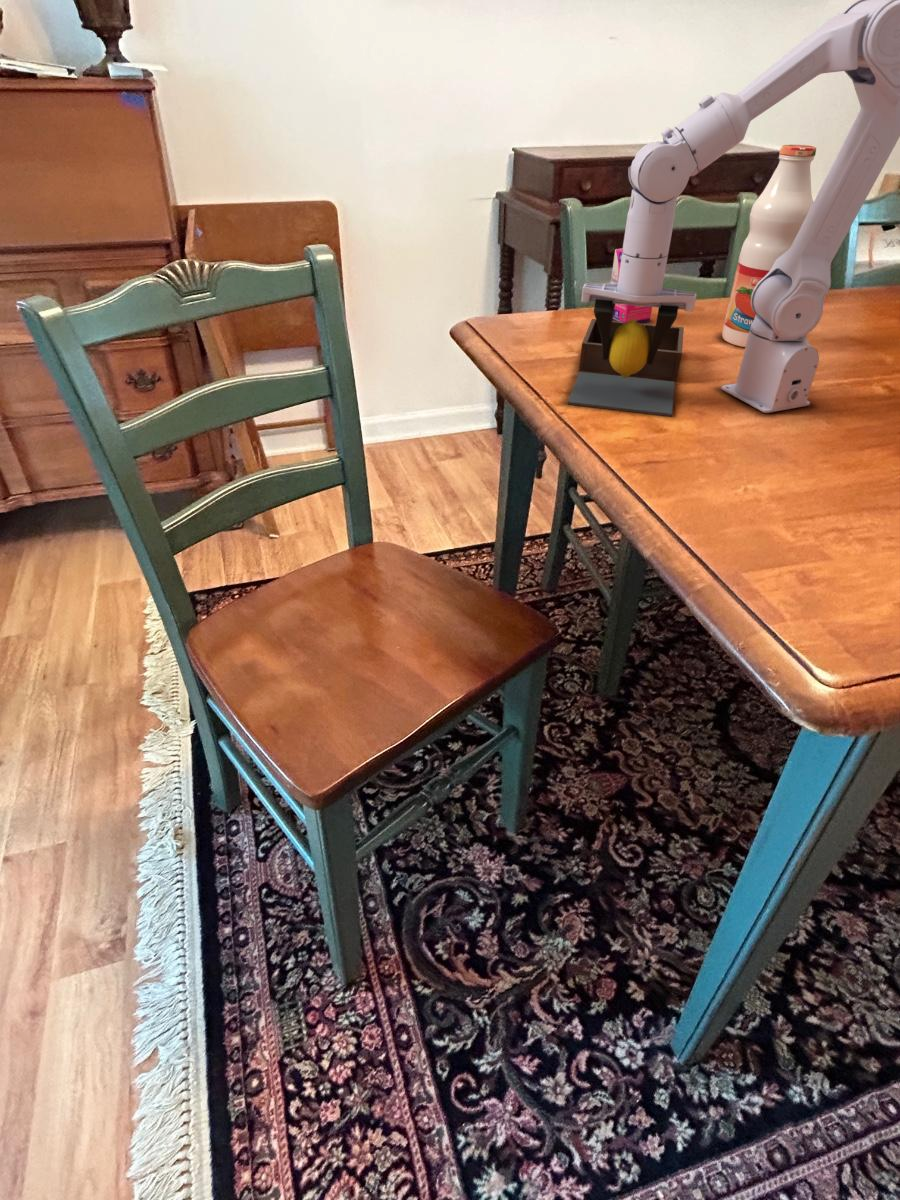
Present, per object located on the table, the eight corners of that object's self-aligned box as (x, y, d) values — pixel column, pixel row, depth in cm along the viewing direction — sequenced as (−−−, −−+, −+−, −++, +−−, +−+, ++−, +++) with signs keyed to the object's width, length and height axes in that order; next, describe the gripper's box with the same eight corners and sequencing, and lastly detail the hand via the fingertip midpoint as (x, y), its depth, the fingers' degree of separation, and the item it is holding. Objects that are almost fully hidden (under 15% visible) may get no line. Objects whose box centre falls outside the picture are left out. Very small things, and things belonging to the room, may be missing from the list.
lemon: (642, 371, 106) (652, 314, 101) (647, 386, 102) (657, 326, 97) (603, 370, 106) (611, 312, 101) (606, 384, 102) (614, 325, 97)
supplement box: (604, 316, 134) (614, 248, 127) (631, 312, 136) (642, 245, 129) (623, 325, 130) (634, 255, 123) (651, 321, 132) (663, 252, 125)
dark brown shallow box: (678, 354, 119) (684, 327, 116) (676, 382, 109) (682, 353, 107) (588, 345, 122) (591, 318, 119) (578, 371, 112) (581, 343, 110)
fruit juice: (772, 332, 128) (824, 143, 111) (785, 351, 120) (842, 151, 103) (716, 330, 129) (759, 141, 112) (725, 348, 121) (772, 149, 104)
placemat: (674, 384, 109) (675, 381, 108) (671, 416, 99) (672, 413, 99) (579, 374, 111) (579, 371, 111) (567, 404, 102) (567, 401, 102)
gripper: (704, 250, 96) (682, 355, 104) (591, 242, 99) (579, 345, 107) (704, 263, 90) (681, 372, 99) (584, 254, 93) (572, 361, 101)
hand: (628, 359), depth 102 cm, fingers closed on lemon, 5 cm apart
